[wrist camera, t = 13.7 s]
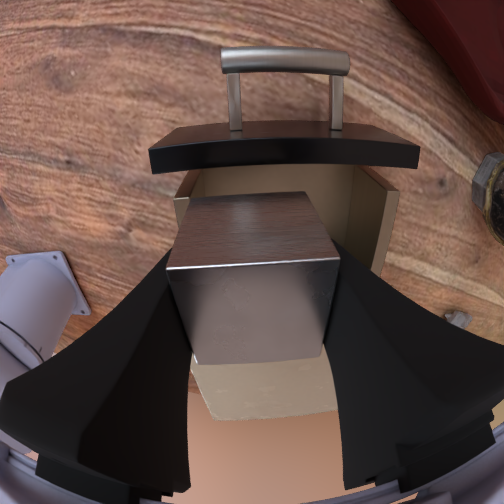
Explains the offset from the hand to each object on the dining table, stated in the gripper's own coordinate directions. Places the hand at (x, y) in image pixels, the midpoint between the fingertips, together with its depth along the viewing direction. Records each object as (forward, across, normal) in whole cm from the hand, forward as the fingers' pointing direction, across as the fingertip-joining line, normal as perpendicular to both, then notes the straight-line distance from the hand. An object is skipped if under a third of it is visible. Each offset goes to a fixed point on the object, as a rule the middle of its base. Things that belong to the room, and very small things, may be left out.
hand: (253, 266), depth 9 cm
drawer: (+9, -2, +2) cm, 10 cm away
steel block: (+1, 0, 0) cm, 1 cm away
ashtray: (+11, -17, -15) cm, 25 cm away
